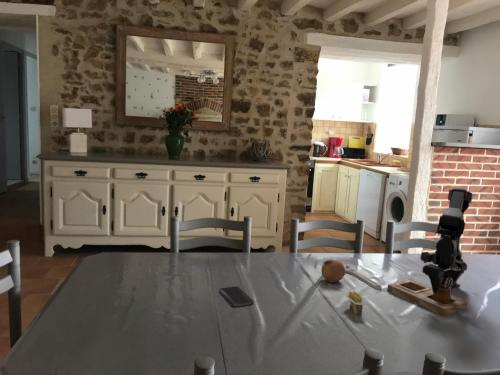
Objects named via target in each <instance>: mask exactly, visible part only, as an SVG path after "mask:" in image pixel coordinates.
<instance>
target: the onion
mask: <svg viewBox="0 0 500 375" xmlns="http://www.w3.org/2000/svg"><path fill="white" fill-rule="evenodd" d="M345 267H346V266H345V265H344V264H343V262H341V261H340V260H336V259H328V260H325V261H324V262H323V264H322V265H321V275H322V277H323V279H324V280H325V281H326V282H329V283H335V282H336V283H337V282H341V281H342V280H343V278H344V276H345V275H346V273H345Z"/></svg>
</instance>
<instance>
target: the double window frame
mask: <svg viewBox="0 0 500 375" xmlns="http://www.w3.org/2000/svg"><path fill="white" fill-rule="evenodd" d="M386 289H387V291H388V292H389V293H392V294H394V295H395V296H398V297H401V298H403V299H405V300H407V301H410V302H412V303H413V304H417V305H419V306H420V307H423V308H425V309H428V310H430V311H432V312H435V313H436V314H439V315H441V316H444V317H446V316H447V315H451V314H454V313H458V312H459V311H462V310H465V309H467V308H468V303H469V302H468V301H467V300H464V299H462V298H460V297H457V296H455V295H452V294H451V300H450V303H448V304H445V305H444V304H442V303H439V302H437V301H434V300H432V298H433V290H432V286H429V285H426V284H424V283H421V282H419V281H416V280H414V279H411V278H409V279H406V280H401V281H397V282H393V283H389V284H387V288H386Z"/></svg>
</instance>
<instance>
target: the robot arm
mask: <svg viewBox="0 0 500 375" xmlns="http://www.w3.org/2000/svg"><path fill="white" fill-rule="evenodd" d="M447 201H449V203H448V204H449V206H448V208H447V209H445V210H443V212H442V215H440V216H439V219H438V225H437V229H436V234H437V235H438V234H439V235H440V237H439V239H438V240H437V242H436V245H435V248H436V250H435V252H428V251H422V252H421V255H420V260H421V261H422V262H423V264H425V265H424V266H422V270H421V271H422V272H421V273H423V274H424V275H426V276H427V277H428V278H429V280H430V281H429V282H430V285H431V286H430V287H432V290H433V292H434V293H436V292H437V291H438V289H439V286H440V285H446V286H448V287H451V288H450V289H451V290H452V289H453V288H456V287H457V288H458V287H460V286H461V284H459V283H457V282H458V280H459V279H460V278H461V276H462V275H463V274H464V273H465V271H467V270H468V264H467V262H465V261H464V259H463V253H462V251H461V249H460V242H461V237H462V236H463V235H464V232H465V228H466V222H465V219H464V216H465V215H464V214H465V212H466V211H467V210H468V209H469V207H470V204H472V203H473V202H472V201H473V192H471V191H468V190H467V189H466V188H459V187H455V188H452V189H449V190H448V194H447ZM427 263H429V264H427ZM447 278H448V279H447ZM451 278H452V279H451ZM446 279H447V280H446ZM449 281H450V282H449ZM446 282H447V283H446ZM451 283H452V284H451Z"/></svg>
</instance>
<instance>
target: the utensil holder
mask: <svg viewBox="0 0 500 375" xmlns="http://www.w3.org/2000/svg"><path fill="white" fill-rule="evenodd" d="M447 279H448V278H447ZM447 279H446V280H447ZM451 279H452V278H451ZM449 282H450V281H449ZM446 283H447V282H446ZM451 284H452V283H451ZM450 288H451V287H448V286H446V285H441V284H440V286H439V289H438V291H437V292H436V293H434V292H433V298H432V300H434V301H437V302H439V303H442V304H444V305H445V304H448V303H450V300H451V295H452V294H451V290H452V288H451V289H450Z"/></svg>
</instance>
